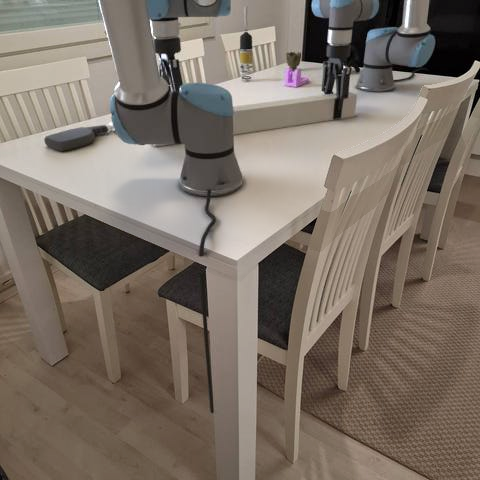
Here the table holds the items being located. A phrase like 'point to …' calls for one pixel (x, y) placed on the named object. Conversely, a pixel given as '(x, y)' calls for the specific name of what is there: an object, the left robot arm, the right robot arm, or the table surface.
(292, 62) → the cup
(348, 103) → the bar
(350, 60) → the squiggle
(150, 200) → the table surface
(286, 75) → the bracket
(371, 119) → the table surface
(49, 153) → the table surface
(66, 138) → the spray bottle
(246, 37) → the filter
